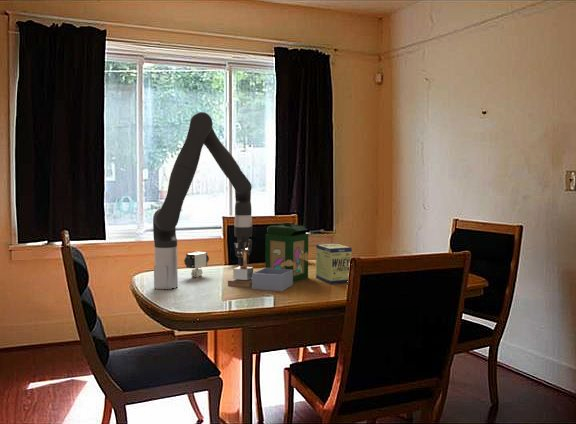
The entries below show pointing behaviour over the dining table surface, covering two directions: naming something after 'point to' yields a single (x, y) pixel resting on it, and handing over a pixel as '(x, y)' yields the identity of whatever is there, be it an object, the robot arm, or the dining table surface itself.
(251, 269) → the peg block
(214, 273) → the dining table surface
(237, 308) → the dining table surface
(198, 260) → the pneumatic valve
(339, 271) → the protein box
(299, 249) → the container
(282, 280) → the bin
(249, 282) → the stud block
